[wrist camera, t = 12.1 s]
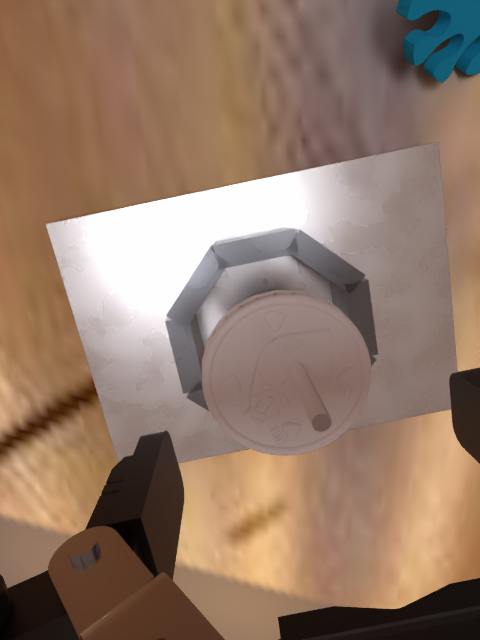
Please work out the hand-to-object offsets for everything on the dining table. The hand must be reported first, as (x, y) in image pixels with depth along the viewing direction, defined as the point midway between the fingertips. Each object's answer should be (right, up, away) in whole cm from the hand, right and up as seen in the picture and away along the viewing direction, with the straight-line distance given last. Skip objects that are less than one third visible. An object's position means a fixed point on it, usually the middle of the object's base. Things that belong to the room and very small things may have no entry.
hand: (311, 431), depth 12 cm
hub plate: (0, +3, +14) cm, 15 cm away
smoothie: (0, +3, +13) cm, 14 cm away
